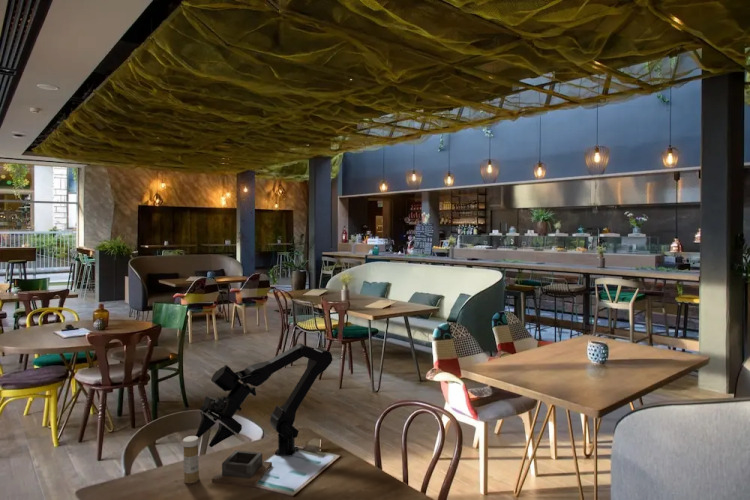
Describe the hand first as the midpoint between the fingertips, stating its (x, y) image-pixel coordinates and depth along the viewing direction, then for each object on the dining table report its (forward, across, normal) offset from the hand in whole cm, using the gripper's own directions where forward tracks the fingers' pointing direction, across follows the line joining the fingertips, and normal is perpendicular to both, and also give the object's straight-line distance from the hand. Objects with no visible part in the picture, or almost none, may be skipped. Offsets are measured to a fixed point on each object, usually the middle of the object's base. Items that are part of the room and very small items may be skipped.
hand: (203, 441), depth 164 cm
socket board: (+1, +8, +14) cm, 16 cm away
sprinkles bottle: (+11, 0, +5) cm, 12 cm away
